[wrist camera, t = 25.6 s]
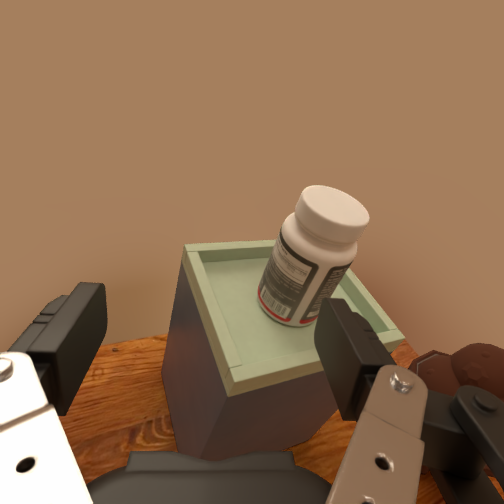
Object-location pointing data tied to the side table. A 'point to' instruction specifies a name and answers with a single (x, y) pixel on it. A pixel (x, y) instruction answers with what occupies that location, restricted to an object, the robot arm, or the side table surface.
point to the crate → (234, 407)
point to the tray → (262, 316)
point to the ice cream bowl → (462, 373)
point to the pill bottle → (311, 254)
